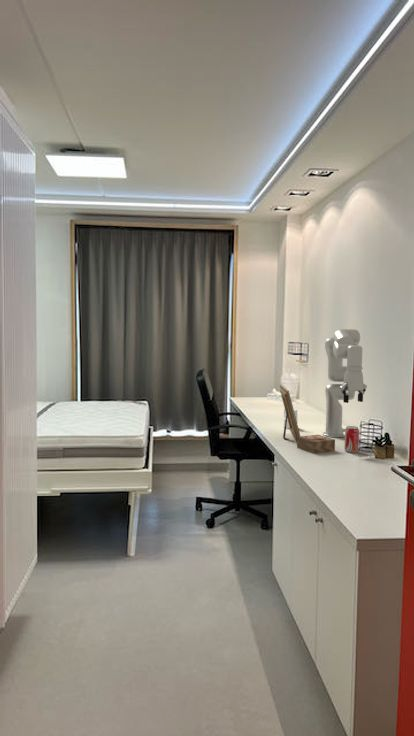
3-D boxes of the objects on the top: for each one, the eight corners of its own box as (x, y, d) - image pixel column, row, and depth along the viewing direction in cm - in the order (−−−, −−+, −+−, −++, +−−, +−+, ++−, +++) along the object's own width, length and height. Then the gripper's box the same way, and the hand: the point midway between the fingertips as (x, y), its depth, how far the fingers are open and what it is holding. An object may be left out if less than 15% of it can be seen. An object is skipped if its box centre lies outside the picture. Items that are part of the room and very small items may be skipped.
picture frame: (302, 445, 293) (303, 391, 291) (284, 444, 294) (285, 390, 291) (294, 433, 326) (295, 384, 324) (277, 433, 326) (278, 384, 324)
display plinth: (317, 445, 293) (318, 433, 292) (334, 450, 280) (335, 438, 280) (297, 447, 287) (297, 436, 286) (313, 453, 274) (313, 441, 274)
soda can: (358, 450, 281) (359, 426, 280) (358, 453, 275) (358, 428, 274) (345, 449, 284) (345, 425, 283) (343, 452, 277) (344, 427, 276)
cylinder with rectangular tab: (299, 427, 344) (300, 409, 343) (292, 429, 338) (292, 410, 337) (288, 425, 350) (288, 407, 350) (280, 427, 344) (280, 409, 343)
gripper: (361, 368, 283) (360, 400, 284) (336, 369, 275) (335, 401, 277) (372, 369, 277) (370, 402, 278) (346, 370, 269) (345, 403, 270)
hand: (353, 402), depth 277 cm, fingers open, 9 cm apart
